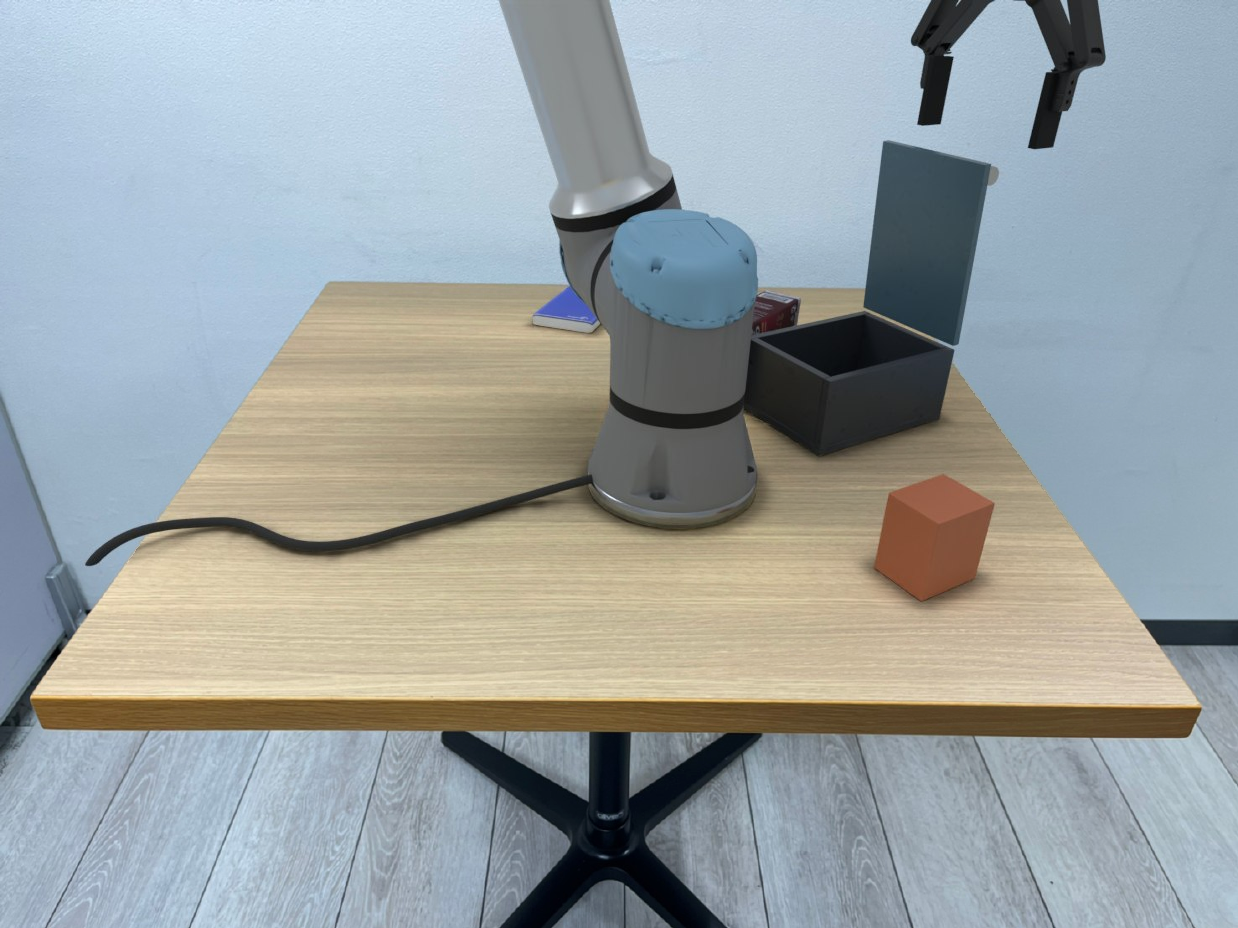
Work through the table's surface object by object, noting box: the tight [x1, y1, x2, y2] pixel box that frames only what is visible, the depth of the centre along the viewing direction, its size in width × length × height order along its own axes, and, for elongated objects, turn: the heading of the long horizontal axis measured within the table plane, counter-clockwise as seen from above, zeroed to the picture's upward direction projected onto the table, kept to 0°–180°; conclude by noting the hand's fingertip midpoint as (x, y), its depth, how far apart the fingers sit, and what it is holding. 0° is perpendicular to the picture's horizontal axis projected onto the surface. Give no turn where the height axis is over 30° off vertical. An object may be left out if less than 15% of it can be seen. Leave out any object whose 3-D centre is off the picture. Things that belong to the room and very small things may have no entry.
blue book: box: [532, 285, 601, 334], centre depth 121 cm, size 2×8×12 cm
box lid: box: [862, 139, 1000, 347], centre depth 93 cm, size 18×13×7 cm
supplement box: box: [751, 289, 802, 335], centre depth 101 cm, size 9×5×16 cm
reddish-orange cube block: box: [873, 473, 996, 602], centre depth 70 cm, size 6×5×7 cm
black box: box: [743, 310, 956, 457], centre depth 95 cm, size 17×13×8 cm
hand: (981, 136), depth 90 cm, fingers open, 13 cm apart
